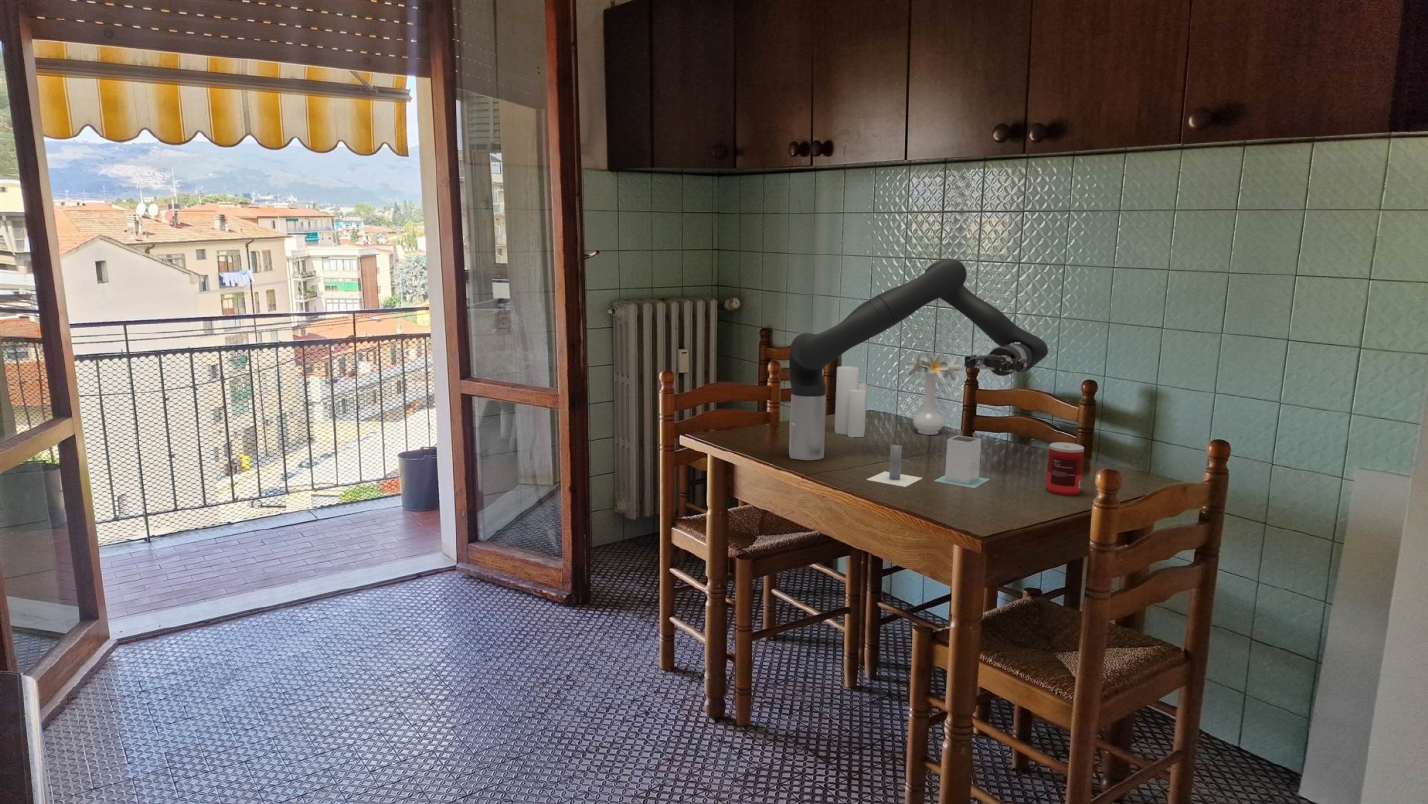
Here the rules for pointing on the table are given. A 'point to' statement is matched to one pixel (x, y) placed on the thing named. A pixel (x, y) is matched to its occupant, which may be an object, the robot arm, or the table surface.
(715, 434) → the table surface
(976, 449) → the white sleeve
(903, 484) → the stand
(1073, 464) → the canned food
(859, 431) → the white joined cylinders
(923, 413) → the flower vase
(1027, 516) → the table surface
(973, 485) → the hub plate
